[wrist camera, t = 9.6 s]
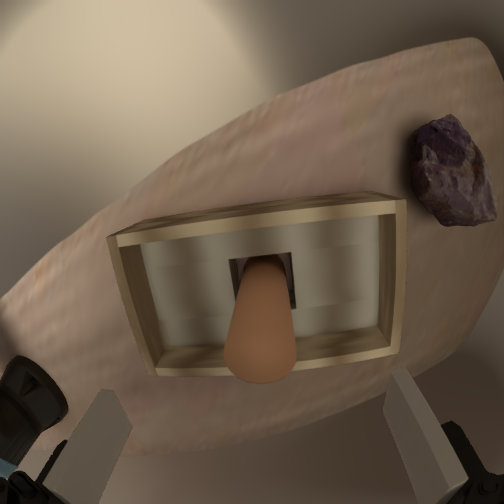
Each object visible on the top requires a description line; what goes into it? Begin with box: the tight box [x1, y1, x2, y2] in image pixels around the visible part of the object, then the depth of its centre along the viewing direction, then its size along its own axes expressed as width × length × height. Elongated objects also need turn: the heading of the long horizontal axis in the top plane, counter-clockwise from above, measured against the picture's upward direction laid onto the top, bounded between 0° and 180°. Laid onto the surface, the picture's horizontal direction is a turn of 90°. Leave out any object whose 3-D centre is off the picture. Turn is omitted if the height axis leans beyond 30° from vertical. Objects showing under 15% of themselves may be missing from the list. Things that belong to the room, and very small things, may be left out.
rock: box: [410, 114, 499, 227], centre depth 23 cm, size 12×9×10 cm
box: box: [106, 191, 407, 376], centre depth 26 cm, size 24×14×8 cm, turn 98°
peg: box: [223, 254, 297, 384], centre depth 23 cm, size 4×4×15 cm
